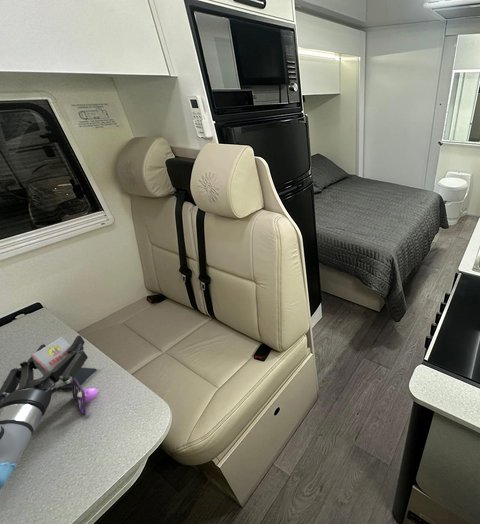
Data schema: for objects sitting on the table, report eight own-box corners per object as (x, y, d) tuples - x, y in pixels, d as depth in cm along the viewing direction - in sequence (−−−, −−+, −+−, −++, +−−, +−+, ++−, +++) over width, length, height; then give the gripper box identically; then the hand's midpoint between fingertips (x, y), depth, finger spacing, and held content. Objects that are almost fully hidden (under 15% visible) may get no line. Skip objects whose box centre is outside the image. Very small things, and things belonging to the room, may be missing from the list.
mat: (46, 386, 77) (45, 385, 77) (69, 367, 82) (68, 366, 82) (75, 389, 76) (74, 387, 76) (96, 369, 81) (96, 368, 81)
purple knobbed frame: (67, 376, 71) (78, 394, 67) (94, 368, 76) (106, 384, 71) (68, 398, 73) (79, 418, 68) (95, 389, 77) (106, 407, 73)
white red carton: (47, 381, 75) (25, 354, 70) (75, 361, 81) (57, 335, 76) (57, 384, 74) (35, 357, 69) (84, 364, 80) (66, 338, 75)
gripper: (-34, 445, 59) (24, 365, 77) (85, 407, 66) (112, 342, 84) (-60, 423, 55) (7, 345, 74) (68, 385, 62) (100, 322, 80)
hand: (63, 343), depth 79 cm, fingers closed on white red carton, 7 cm apart
